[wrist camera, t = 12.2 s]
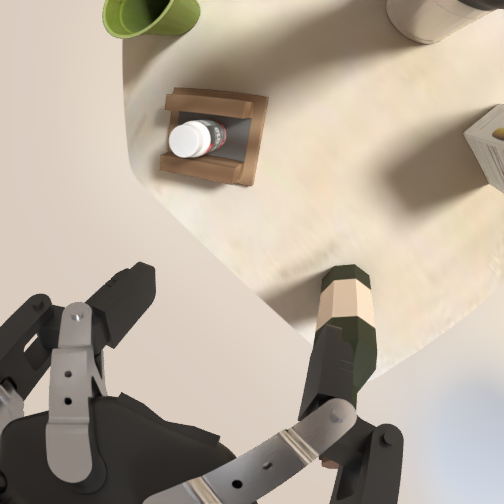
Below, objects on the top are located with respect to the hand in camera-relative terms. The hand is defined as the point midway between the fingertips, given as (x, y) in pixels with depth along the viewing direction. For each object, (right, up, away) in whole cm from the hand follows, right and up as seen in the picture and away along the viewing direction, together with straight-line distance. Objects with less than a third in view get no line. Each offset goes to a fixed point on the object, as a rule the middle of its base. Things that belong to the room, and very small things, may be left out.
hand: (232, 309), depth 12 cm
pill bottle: (-5, +19, +26) cm, 32 cm away
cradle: (-5, +20, +27) cm, 34 cm away
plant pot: (-10, +38, +19) cm, 44 cm away
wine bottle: (+16, -3, +33) cm, 37 cm away
